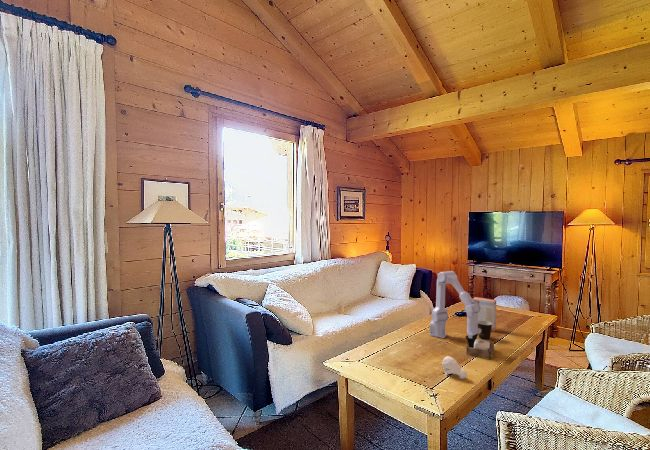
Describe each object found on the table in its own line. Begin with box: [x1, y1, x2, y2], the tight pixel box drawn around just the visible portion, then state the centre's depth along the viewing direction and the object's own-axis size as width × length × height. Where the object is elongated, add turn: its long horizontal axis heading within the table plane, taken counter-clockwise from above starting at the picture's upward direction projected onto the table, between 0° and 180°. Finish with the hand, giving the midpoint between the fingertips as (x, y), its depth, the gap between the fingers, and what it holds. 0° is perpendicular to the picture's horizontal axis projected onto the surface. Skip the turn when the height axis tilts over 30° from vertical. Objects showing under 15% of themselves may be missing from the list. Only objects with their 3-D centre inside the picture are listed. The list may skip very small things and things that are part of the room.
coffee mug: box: [478, 321, 492, 341], centre depth 216 cm, size 12×9×10 cm
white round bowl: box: [473, 338, 490, 351], centre depth 193 cm, size 9×9×6 cm
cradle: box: [465, 340, 495, 360], centre depth 193 cm, size 13×15×5 cm
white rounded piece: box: [441, 355, 468, 380], centre depth 166 cm, size 6×8×12 cm
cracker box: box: [472, 296, 497, 333], centre depth 231 cm, size 14×6×21 cm, turn 49°
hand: (472, 346), depth 196 cm, fingers open, 7 cm apart
